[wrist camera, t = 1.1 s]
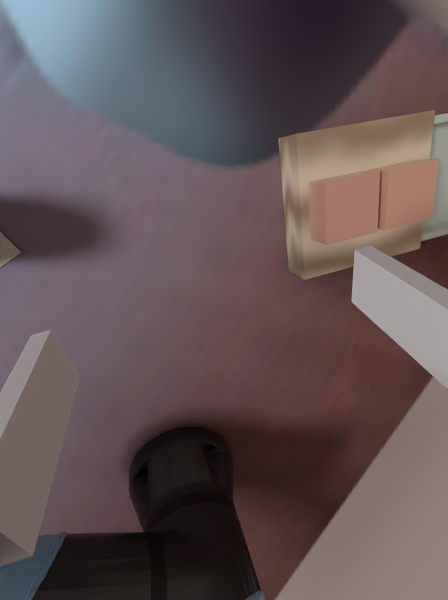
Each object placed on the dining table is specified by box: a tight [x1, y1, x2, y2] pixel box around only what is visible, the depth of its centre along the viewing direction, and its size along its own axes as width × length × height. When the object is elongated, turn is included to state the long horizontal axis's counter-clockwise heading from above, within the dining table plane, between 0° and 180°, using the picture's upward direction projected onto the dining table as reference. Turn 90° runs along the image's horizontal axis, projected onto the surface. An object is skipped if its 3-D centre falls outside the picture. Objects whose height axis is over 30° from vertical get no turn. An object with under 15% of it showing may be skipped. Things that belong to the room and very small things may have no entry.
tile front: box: [308, 171, 380, 245], centre depth 31 cm, size 6×6×3 cm
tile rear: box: [368, 159, 440, 230], centre depth 33 cm, size 6×6×3 cm
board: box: [279, 110, 435, 280], centre depth 35 cm, size 15×16×4 cm
